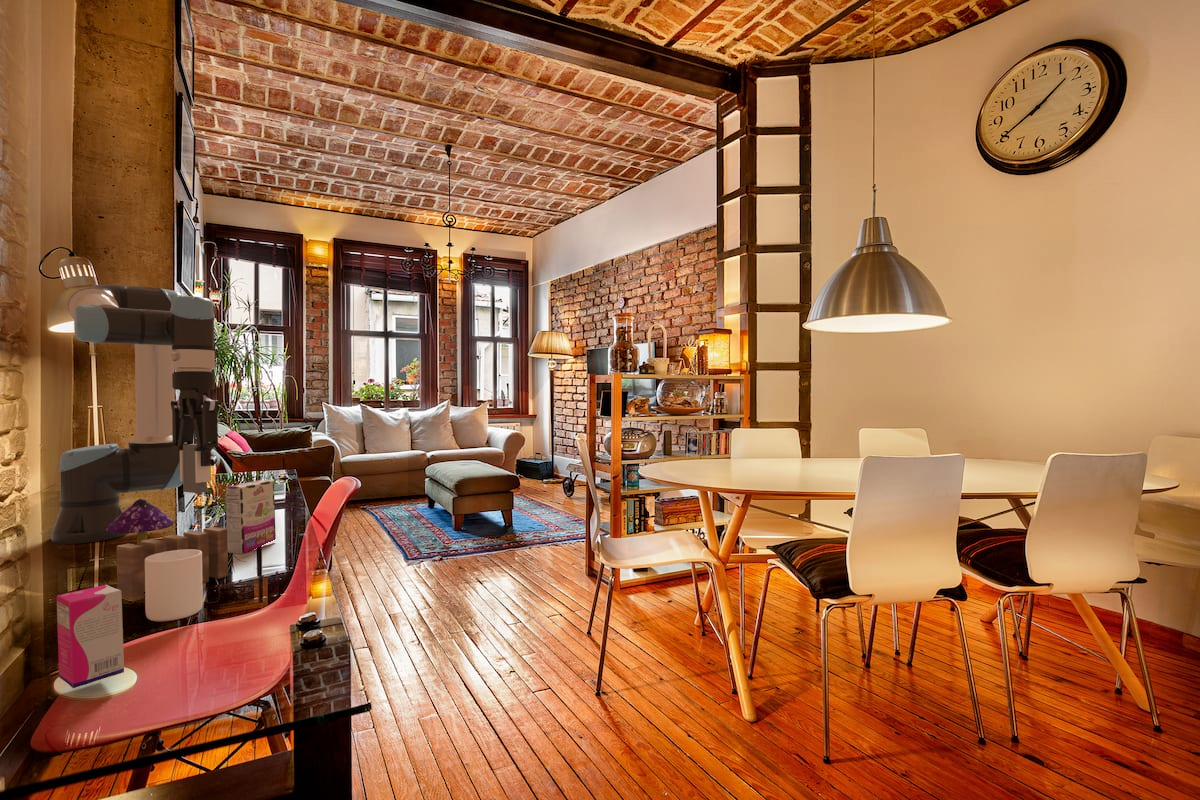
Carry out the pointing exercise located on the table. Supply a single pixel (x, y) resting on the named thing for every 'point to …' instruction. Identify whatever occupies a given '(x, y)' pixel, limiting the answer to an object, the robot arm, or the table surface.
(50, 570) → the table surface
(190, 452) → the charcoal domino
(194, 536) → the walnut domino
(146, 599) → the white oval pot
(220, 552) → the walnut domino
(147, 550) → the walnut domino
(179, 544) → the walnut domino
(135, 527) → the decorative mushroom
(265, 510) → the candy bar box
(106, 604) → the supplement box
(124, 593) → the walnut domino
